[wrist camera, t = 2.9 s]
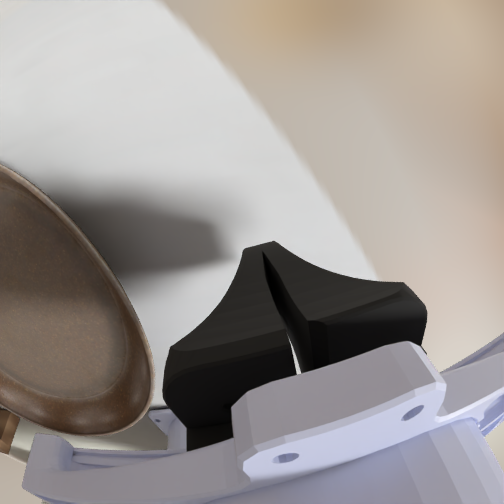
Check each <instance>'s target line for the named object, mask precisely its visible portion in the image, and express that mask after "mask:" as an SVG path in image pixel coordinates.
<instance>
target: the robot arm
mask: <svg viewBox="0 0 504 504" xmlns="http://www.w3.org/2000/svg"><path fill="white" fill-rule="evenodd" d="M426 323H427V310H426V306H425V305H424V304H423V302H422V301H421V300H420V299H419V298H418V297H417V295H416V294H415V293H414V292H413V291H412V290H411V289H410V288H409V287H408V286H407V285H406V284H405V283H403V282H380V281H371V280H363V279H358V278H352V277H348V276H344V275H340V274H337V273H333V272H330V271H328V270H325V269H322V268H320V267H317V266H315V265H313V264H311V263H309V262H307V261H305V260H303V259H301V258H299V257H298V256H296V255H294V254H293V253H291V252H290V251H288V250H287V249H285V248H284V247H282V246H281V245H280V244H278V243H277V242H275V241H272V242H268V243H264V244H260V245H256V246H252V247H249V248H245V249H244V250H243V252H242V258H241V261H240V264H239V267H238V270H237V272H236V275H235V277H234V279H233V281H232V283H231V285H230V287H229V289H228V291H227V292H226V294H225V296H224V297H223V299H222V300H221V302H220V303H219V304H218V305H217V307H216V308H215V309H214V310H213V311H212V312H211V314H210V315H209V316H208V317H207V318H206V319H205V320H204V321H203V322H202V323H201V324H200V325H199V326H197V327H196V328H195V329H194V330H193V331H192V332H190V333H189V334H188V335H186V336H185V337H184V338H182V339H181V340H180V341H178V342H177V343H175V344H174V345H172V346H171V347H170V349H169V354H168V357H167V360H166V365H165V370H164V379H163V389H162V392H163V399H164V401H165V403H166V404H167V406H168V407H169V408H170V409H163V410H154V411H150V412H149V414H148V417H149V418H150V419H151V420H152V421H153V422H154V423H155V424H156V425H157V426H158V428H159V429H160V430H161V431H162V432H163V433H164V434H165V435H167V436H168V449H167V450H139V451H126V450H98V449H84V448H74V447H73V446H72V445H71V444H70V443H69V442H67V441H66V440H65V439H63V438H61V437H59V436H56V435H50V434H42V433H35V436H34V440H33V443H32V447H31V450H30V454H29V458H28V462H27V466H26V470H25V474H24V479H23V483H22V487H23V489H25V490H26V491H28V492H30V493H31V494H33V495H35V496H37V497H39V498H41V499H42V500H44V501H46V502H48V503H50V504H504V472H503V470H502V469H501V467H500V465H499V463H498V461H497V459H496V457H495V456H494V454H493V452H492V450H491V448H490V447H489V445H488V443H487V442H486V440H485V438H484V437H485V436H486V435H487V434H489V433H490V432H491V431H492V430H493V429H495V428H496V427H497V426H498V425H499V424H501V423H502V422H503V421H504V333H503V334H501V335H500V336H498V337H497V338H495V339H494V340H493V341H491V342H490V343H488V344H487V345H485V346H484V347H482V348H481V349H479V350H478V351H476V352H474V353H473V354H471V355H469V356H468V357H466V358H465V359H463V360H462V361H460V362H458V363H456V364H455V365H453V366H451V367H449V368H447V369H446V370H444V371H442V372H440V373H439V372H438V371H437V369H436V368H435V366H434V365H433V364H432V362H431V361H430V359H429V358H428V357H427V353H426V352H425V350H424V349H423V348H422V346H421V344H422V340H423V336H424V332H425V328H426ZM287 334H288V335H287ZM288 337H289V338H288ZM289 339H290V341H291V343H292V346H293V348H294V351H295V354H296V357H297V360H298V364H299V367H300V370H301V373H302V374H298V375H297V373H296V368H295V363H294V358H293V353H292V348H291V344H290V341H289Z"/></svg>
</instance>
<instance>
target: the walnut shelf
mask: <svg viewBox="0 0 504 504" xmlns="http://www.w3.org/2000/svg"><path fill="white" fill-rule="evenodd" d="M19 420H20V418H19V417H18V416H16V415H15V414H14V413H12V412H10V411H9V410H2V409H0V452H2V453H5V454H9V450H10V447H11V444H12V441H13V438H14V435H15V432H16V429H17V426H18V423H19Z"/></svg>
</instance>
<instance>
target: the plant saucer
mask: <svg viewBox="0 0 504 504" xmlns="http://www.w3.org/2000/svg"><path fill="white" fill-rule="evenodd" d="M154 390H155V369H154V363H153V358H152V353H151V350H150V347H149V344H148V340H147V338H146V335H145V333H144V330H143V328H142V325H141V323H140V321H139V318H138V316H137V314H136V312H135V310H134V308H133V306H132V304H131V302H130V301H129V299H128V297H127V295H126V293H125V291H124V289H123V288H122V286H121V284H120V283H119V281H118V279H117V278H116V276H115V275H114V273H113V272H112V270H111V269H110V267H109V266H108V264H107V263H106V261H105V260H104V259H103V257H102V256H101V254H100V253H99V252H98V250H97V249H96V248H95V246H94V245H93V244H92V243H91V241H90V240H89V239H88V238H87V236H86V235H85V234H84V233H83V231H82V230H81V229H80V228H79V227H78V226H77V225H76V224H75V222H74V221H73V220H72V219H71V218H70V217H69V216H68V215H67V214H66V213H65V212H64V211H63V210H62V209H61V208H60V207H59V206H58V205H57V204H56V203H55V202H54V201H53V200H52V199H51V198H50V197H49V196H47V195H46V194H45V193H44V192H43V191H41V190H40V189H39V188H38V187H36V186H35V185H34V184H32V183H31V182H30V181H28V180H27V179H25V178H24V177H22V176H21V175H19V174H17V173H16V172H14V171H12V170H11V169H9V168H7V167H5V166H3V165H1V164H0V405H1V406H2V407H4V408H5V409H7V410H9V411H10V412H12V413H14V414H15V415H17V416H19V417H21V418H23V419H26V420H27V421H29V422H32V423H34V424H36V425H39V426H41V427H44V428H47V429H50V430H54V431H57V432H61V433H66V434H71V435H78V436H104V435H110V434H115V433H118V432H121V431H123V430H126V429H128V428H130V427H131V426H133V425H134V424H136V423H137V422H138V421H139V420H140V419H141V418H142V417H143V416H144V415H145V413H146V412H147V410H148V409H149V407H150V405H151V402H152V399H153V395H154Z"/></svg>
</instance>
